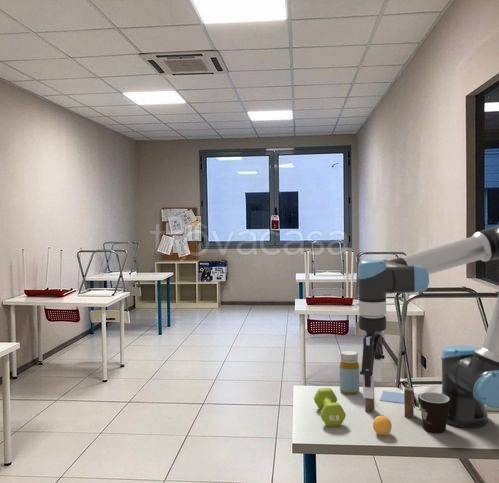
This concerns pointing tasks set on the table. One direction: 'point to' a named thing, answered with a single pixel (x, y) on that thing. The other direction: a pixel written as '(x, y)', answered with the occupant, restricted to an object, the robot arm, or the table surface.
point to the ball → (382, 425)
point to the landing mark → (392, 397)
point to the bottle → (349, 372)
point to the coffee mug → (434, 411)
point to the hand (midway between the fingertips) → (373, 389)
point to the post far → (369, 405)
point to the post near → (409, 401)
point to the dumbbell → (329, 407)
